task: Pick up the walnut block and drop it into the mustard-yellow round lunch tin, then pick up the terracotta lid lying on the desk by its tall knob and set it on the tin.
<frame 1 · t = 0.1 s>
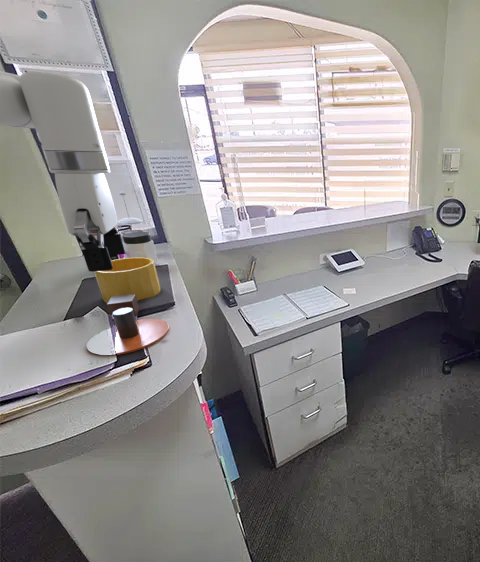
hand: (108, 261, 57), 21 cm above the table, tool pointing down, fingers open, 9 cm apart
french press: (136, 255, 126), on the table
jar: (144, 266, 115), on the table
tin: (133, 294, 92), on the table
block: (126, 316, 80), on the table
lid: (130, 336, 71), point 1 cm above the table
supplement can: (112, 267, 113), on the table
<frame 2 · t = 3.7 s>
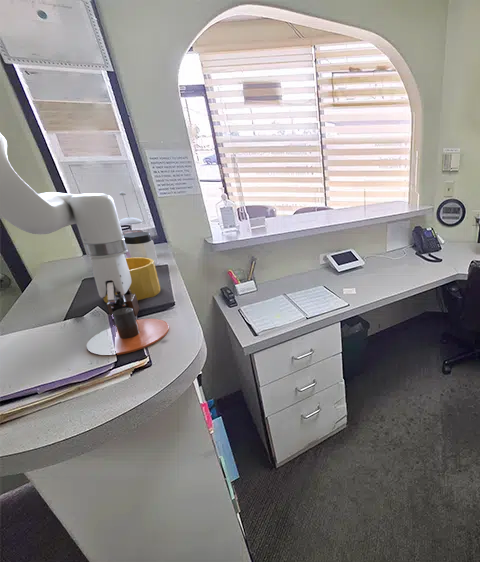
hand: (126, 314, 80), 0 cm above the table, tool pointing down, fingers closed on block, 5 cm apart
block: (126, 316, 80), on the table, touching gripper
everything else where it was.
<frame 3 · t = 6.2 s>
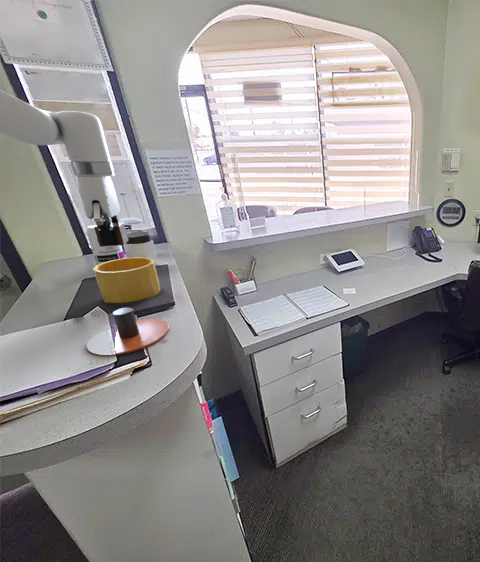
hand: (114, 241, 81), 17 cm above the table, tool pointing down, fingers closed on block, 5 cm apart
block: (114, 243, 82), point 17 cm above the table, touching gripper
everything else where it was.
when the fingers open (7 cm above the table, at t = 9.0 s): block drops 6 cm, resting on tin.
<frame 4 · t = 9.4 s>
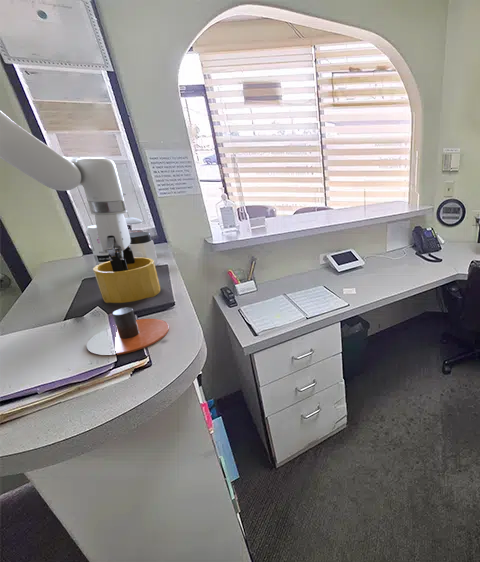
hand: (125, 268, 89), 8 cm above the table, tool pointing down, fingers open, 8 cm apart
block: (132, 293, 92), resting on tin
everything else where it was.
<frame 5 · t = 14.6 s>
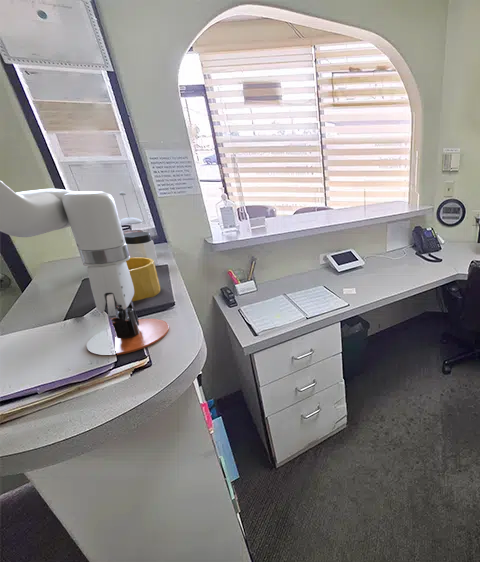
hand: (128, 330, 70), 2 cm above the table, tool pointing down, fingers closed on lid, 3 cm apart
lid: (130, 336, 71), point 1 cm above the table, touching gripper
everything else where it was.
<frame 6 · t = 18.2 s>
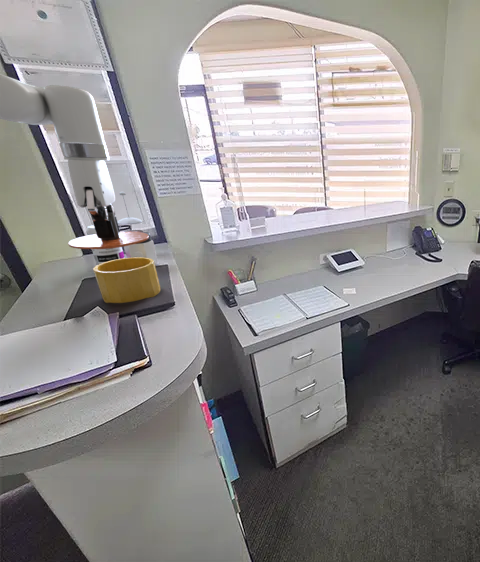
hand: (109, 234, 74), 21 cm above the table, tool pointing down, fingers closed on lid, 3 cm apart
lid: (111, 240, 75), point 20 cm above the table, touching gripper
everything else where it was.
when the fingers open (11 cm above the table, at t = 22.0 s): lid stays where it is, resting on tin.
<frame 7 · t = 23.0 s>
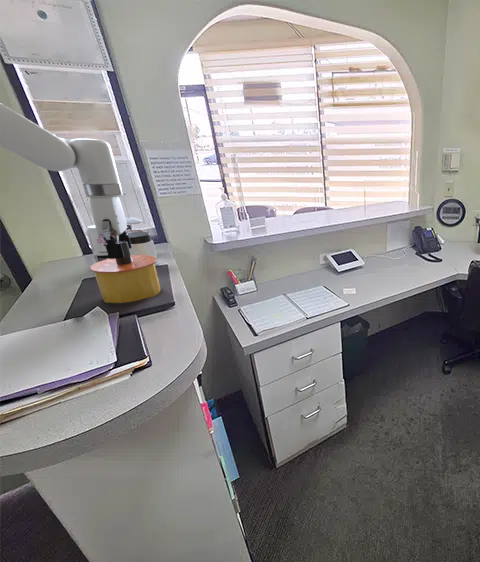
hand: (121, 253, 87), 13 cm above the table, tool pointing down, fingers open, 9 cm apart
lid: (125, 264, 89), point 9 cm above the table, touching tin
everything else where it was.
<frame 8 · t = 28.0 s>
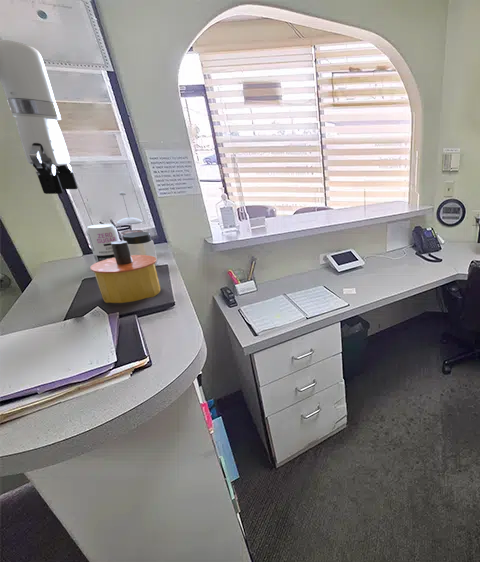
hand: (62, 191, 74), 30 cm above the table, tool pointing down, fingers open, 9 cm apart
nothing on the table moved.
at the end: block inside the target area in the tin (0.0 cm from its centre), point 0.5 cm above the tin's base; lid 0.1 cm off-centre on the tin, point 9.5 cm above the tin's base; lid tilted 0° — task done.
